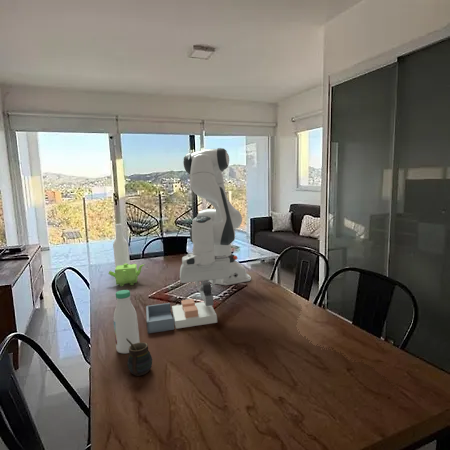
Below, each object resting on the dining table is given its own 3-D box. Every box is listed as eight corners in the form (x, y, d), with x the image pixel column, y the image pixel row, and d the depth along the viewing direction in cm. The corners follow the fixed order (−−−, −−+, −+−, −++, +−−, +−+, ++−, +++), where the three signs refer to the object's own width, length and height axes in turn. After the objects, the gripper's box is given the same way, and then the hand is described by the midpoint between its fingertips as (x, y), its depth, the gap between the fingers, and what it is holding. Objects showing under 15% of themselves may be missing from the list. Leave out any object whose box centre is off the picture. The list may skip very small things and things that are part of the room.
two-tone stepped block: (207, 294, 148) (206, 278, 147) (213, 305, 134) (212, 287, 134) (200, 294, 147) (199, 278, 146) (205, 306, 134) (204, 288, 133)
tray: (170, 312, 147) (169, 302, 147) (174, 329, 131) (173, 318, 130) (147, 316, 145) (146, 305, 144) (147, 333, 129) (146, 322, 128)
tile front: (196, 311, 139) (195, 305, 139) (198, 316, 134) (197, 310, 134) (183, 313, 138) (183, 307, 138) (185, 318, 133) (184, 311, 133)
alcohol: (112, 272, 218) (108, 224, 213) (124, 268, 225) (119, 222, 221) (122, 273, 213) (117, 225, 208) (133, 270, 220) (128, 223, 216)
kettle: (146, 281, 194) (145, 262, 192) (127, 289, 182) (124, 268, 181) (128, 278, 202) (126, 259, 201) (108, 285, 190) (106, 265, 189)
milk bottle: (144, 345, 120) (139, 289, 117) (129, 355, 113) (123, 296, 110) (127, 341, 123) (121, 287, 120) (111, 352, 116) (105, 294, 113)
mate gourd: (147, 379, 99) (144, 346, 98) (123, 378, 101) (119, 345, 99) (157, 365, 106) (153, 334, 105) (133, 364, 108) (130, 334, 106)
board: (209, 307, 150) (209, 301, 150) (217, 322, 135) (216, 315, 135) (172, 312, 147) (171, 306, 146) (175, 328, 131) (175, 321, 131)
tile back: (193, 304, 147) (193, 298, 147) (195, 308, 142) (194, 302, 142) (181, 306, 146) (181, 300, 146) (183, 310, 141) (182, 304, 141)
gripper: (227, 253, 144) (229, 285, 146) (178, 258, 140) (180, 291, 141) (231, 256, 138) (232, 290, 140) (179, 261, 133) (181, 296, 135)
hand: (206, 290), depth 141 cm, fingers closed on two-tone stepped block, 3 cm apart
